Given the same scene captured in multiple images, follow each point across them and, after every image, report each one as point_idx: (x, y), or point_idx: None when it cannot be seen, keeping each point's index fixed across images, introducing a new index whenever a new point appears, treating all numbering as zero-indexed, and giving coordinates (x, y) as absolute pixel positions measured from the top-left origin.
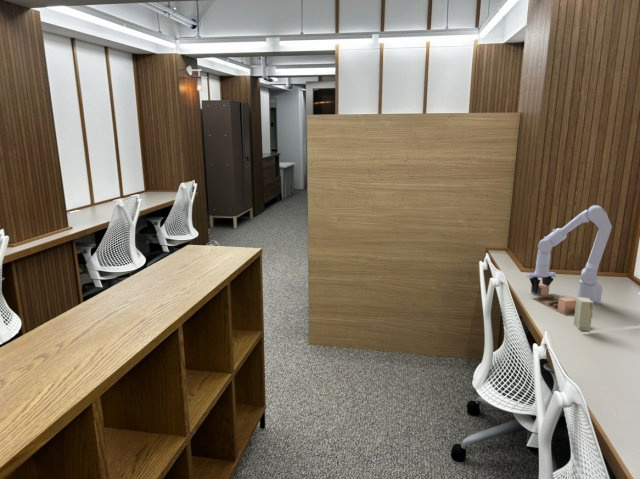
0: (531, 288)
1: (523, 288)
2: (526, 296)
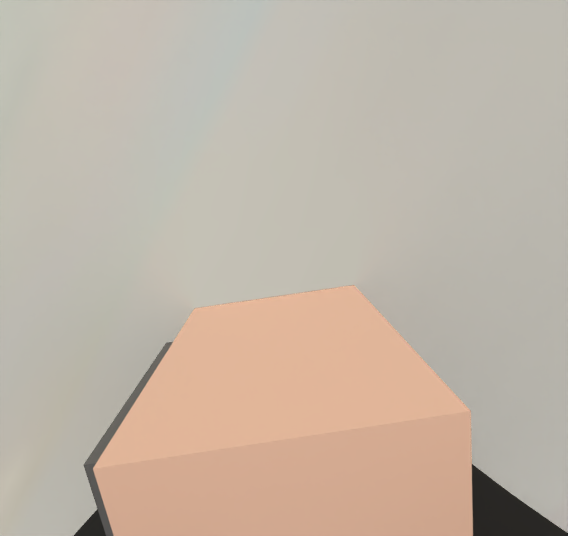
0: (141, 390)
1: (162, 5)
2: (13, 485)
